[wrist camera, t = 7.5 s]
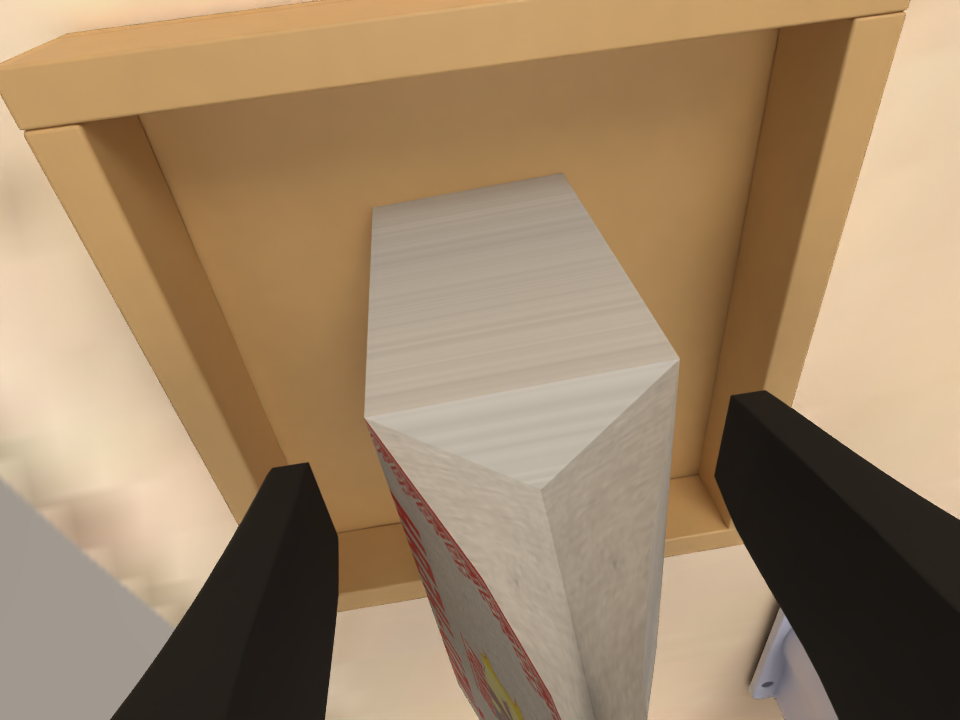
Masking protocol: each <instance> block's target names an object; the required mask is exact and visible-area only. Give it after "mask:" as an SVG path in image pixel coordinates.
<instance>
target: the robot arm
mask: <svg viewBox="0 0 960 720" xmlns="http://www.w3.org/2000/svg"><path fill="white" fill-rule="evenodd" d="M714 477H715V480H716V482H717V485H718V487H719V490H720V492H721V495H722V497H723V500H724V502H725V505H726V507H727V509H728V512H729V514H730V516H731V519H732V521H733V523H734V526H735V528H736V530H737V532H738V534H739V536H740V537H741V539H742V541H743V543H744V545H745V546H746V548H747V550H748V552H749V553H750V555H751V557H752V559H753V561H754V562H755V564H756V566H757V568H758V569H759V571H760V573H761V575H762V576H763V578H764V580H765V582H766V583H767V585H768V587H769V589H770V590H771V592H772V594H773V595H774V597H775V599H776V601H777V602H778V604H779V606H780V609H779V611H778V614H777V616H776V619H775V622H774V624H773V627H772V629H771V632H770V635H769V637H768V640H767V643H766V645H765V648H764V650H763V653H762V656H761V658H760V661H759V664H758V666H757V669H756V671H755V674H754V677H753V679H752V682H751V685H750V687H749V691H750V693H751V695H752V697H753V698H755V699H764V698H769V697H774V698H775V700H776V702H777V704H778V706H779V708H780V710H781V712H782V714H783V716H784V718H785V720H960V520H959V519H957V518H955V517H954V516H952V515H951V514H949V513H947V512H946V511H944V510H942V509H941V508H939V507H937V506H936V505H934V504H933V503H931V502H929V501H928V500H926V499H924V498H923V497H921V496H920V495H918V494H917V493H915V492H913V491H912V490H910V489H909V488H907V487H906V486H904V485H903V484H901V483H899V482H898V481H896V480H895V479H893V478H892V477H890V476H889V475H887V474H886V473H884V472H883V471H881V470H880V469H878V468H877V467H875V466H874V465H872V464H871V463H869V462H868V461H867V460H865V459H864V458H862V457H861V456H859V455H858V454H856V453H855V452H853V451H852V450H851V449H849V448H848V447H846V446H845V445H843V444H842V443H840V442H839V441H838V440H836V439H835V438H833V437H832V436H831V435H829V434H828V433H826V432H825V431H823V430H822V429H821V428H819V427H818V426H816V425H815V424H814V423H812V422H811V421H809V420H808V419H807V418H805V417H804V416H802V415H801V414H800V413H798V412H797V411H795V410H794V409H792V408H791V407H790V406H788V405H787V404H785V403H784V402H782V401H781V400H780V399H778V398H777V397H775V396H774V395H772V394H771V393H769V392H768V391H766V390H762V391H756V392H749V393H743V394H737V395H731V396H730V401H729V406H728V411H727V415H726V420H725V425H724V430H723V435H722V440H721V445H720V449H719V454H718V459H717V464H716V469H715V474H714ZM338 597H339V543H338V535H337V532H336V530H335V527H334V525H333V522H332V520H331V517H330V514H329V512H328V509H327V507H326V504H325V502H324V499H323V497H322V494H321V492H320V489H319V487H318V484H317V482H316V479H315V477H314V474H313V472H312V469H311V466H310V464H309V462H306V463H299V464H293V465H287V466H280V467H274V468H272V469H271V470H270V471H269V472H268V474H267V475H266V477H265V479H264V481H263V483H262V485H261V487H260V488H259V490H258V492H257V494H256V496H255V498H254V500H253V501H252V503H251V505H250V507H249V509H248V510H247V512H246V514H245V516H244V518H243V520H242V521H241V523H240V525H239V527H238V528H237V530H236V532H235V534H234V535H233V537H232V539H231V541H230V542H229V544H228V546H227V548H226V549H225V551H224V553H223V554H222V556H221V558H220V559H219V561H218V562H217V564H216V566H215V567H214V569H213V571H212V572H211V574H210V576H209V577H208V579H207V581H206V582H205V584H204V586H203V587H202V589H201V591H200V592H199V594H198V595H197V597H196V599H195V600H194V602H193V603H192V605H191V606H190V608H189V609H188V611H187V612H186V614H185V615H184V617H183V618H182V620H181V621H180V623H179V624H178V626H177V627H176V629H175V630H174V632H173V633H172V635H171V636H170V638H169V639H168V641H167V642H166V644H165V645H164V647H163V648H162V650H161V651H160V653H159V654H158V656H157V657H156V658H155V660H154V661H153V663H152V664H151V665H150V667H149V668H148V670H147V671H146V672H145V674H144V675H143V677H142V678H141V679H140V681H139V682H138V684H137V685H136V686H135V688H134V689H133V690H132V692H131V693H130V694H129V696H128V697H127V698H126V699H125V701H124V702H123V703H122V705H121V706H120V707H119V709H118V710H117V711H116V713H115V714H114V715H113V716H112V718H111V719H110V720H325V713H326V705H327V696H328V687H329V679H330V670H331V661H332V652H333V644H334V635H335V625H336V616H337V607H338Z"/></svg>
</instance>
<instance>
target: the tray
mask: <svg viewBox="0 0 960 720" xmlns="http://www.w3.org/2000/svg"><path fill="white" fill-rule="evenodd" d="M909 3H910V0H320V1H313V2H305V3H297V4H290V5H282V6H274V7H267V8H259V9H251V10H244V11H236V12H228V13H221V14H213V15H205V16H198V17H190V18H182V19H175V20H167V21H159V22H152V23H144V24H136V25H129V26H121V27H113V28H106V29H98V30H90V31H83V32H75V33H67V34H65V35H63V36H60V37H58V38H56V39H53V40H51V41H49V42H47V43H44V44H42V45H40V46H38V47H35V48H33V49H31V50H29V51H27V52H24V53H22V54H20V55H18V56H15V57H13V58H11V59H9V60H6V61H4V62H2V63H0V95H1V97H2V98H3V100H4V102H5V104H6V106H7V107H8V109H9V111H10V113H11V115H12V117H13V118H14V120H15V122H16V124H17V126H18V127H19V128H20V130H26V131H25V132H24V137H25V139H26V141H27V142H28V144H29V146H30V148H31V150H32V151H33V153H34V155H35V157H36V159H37V161H38V162H39V164H40V166H41V168H42V170H43V171H44V173H45V175H46V177H47V179H48V180H49V182H50V184H51V186H52V188H53V190H54V191H55V193H56V195H57V197H58V199H59V200H60V202H61V204H62V206H63V208H64V209H65V211H66V213H67V215H68V217H69V219H70V220H71V222H72V224H73V226H74V228H75V229H76V231H77V233H78V235H79V237H80V239H81V240H82V242H83V244H84V246H85V248H86V249H87V251H88V253H89V255H90V257H91V258H92V260H93V262H94V264H95V266H96V268H97V269H98V271H99V273H100V275H101V277H102V278H103V280H104V282H105V284H106V286H107V288H108V289H109V291H110V293H111V295H112V297H113V298H114V300H115V302H116V304H117V306H118V307H119V309H120V311H121V313H122V315H123V317H124V318H125V320H126V322H127V324H128V326H129V327H130V329H131V331H132V333H133V335H134V337H135V338H136V340H137V342H138V344H139V346H140V347H141V349H142V351H143V353H144V355H145V356H146V358H147V360H148V362H149V364H150V366H151V367H152V369H153V371H154V373H155V375H156V376H157V378H158V380H159V382H160V384H161V386H162V387H163V389H164V391H165V393H166V395H167V396H168V398H169V400H170V402H171V404H172V405H173V407H174V409H175V411H176V413H177V415H178V416H179V418H180V420H181V422H182V424H183V425H184V427H185V429H186V431H187V433H188V435H189V436H190V438H191V440H192V442H193V444H194V445H195V447H196V449H197V451H198V453H199V454H200V456H201V458H202V460H203V462H204V464H205V465H206V467H207V469H208V471H209V473H210V474H211V476H212V478H213V480H214V482H215V483H216V485H217V487H218V489H219V491H220V493H221V494H222V496H223V498H224V500H225V502H226V503H227V505H228V507H229V509H230V511H231V513H232V514H233V516H234V518H235V520H236V522H237V523H238V525H240V523H241V521H242V520H243V518H244V516H245V514H246V512H247V510H248V509H249V507H250V505H251V503H252V501H253V500H254V498H255V496H256V494H257V492H258V490H259V488H260V487H261V485H262V483H263V481H264V479H265V477H266V475H267V474H268V472H269V471H270V470H271V469H272V468H274V467H280V466H287V465H293V464H299V463H306V462H309V464H310V466H311V469H312V472H313V474H314V477H315V479H316V482H317V484H318V487H319V489H320V492H321V494H322V497H323V499H324V502H325V504H326V507H327V509H328V512H329V514H330V517H331V520H332V522H333V525H334V527H335V530H336V532H337V535H338V543H339V597H338V607H337V612H341V611H347V610H353V609H359V608H365V607H371V606H377V605H383V604H389V603H395V602H401V601H407V600H413V599H419V598H425V597H427V594H426V591H425V588H424V585H423V583H422V580H421V577H420V574H419V571H418V568H417V566H416V563H415V560H414V557H413V554H412V551H411V549H410V546H409V543H408V540H407V537H406V534H405V532H404V529H403V526H402V523H401V520H400V517H399V515H398V512H397V509H396V506H395V503H394V501H393V498H392V495H391V492H390V489H389V486H388V484H387V481H386V478H385V475H384V472H383V469H382V467H381V464H380V461H379V458H378V455H377V452H376V450H375V447H374V444H373V441H372V438H371V435H370V433H369V430H368V427H367V424H366V421H365V419H364V410H365V386H366V362H367V337H368V313H369V288H370V264H371V240H372V215H373V207H378V206H384V205H389V204H394V203H400V202H405V201H411V200H416V199H422V198H427V197H433V196H438V195H443V194H449V193H454V192H460V191H465V190H471V189H476V188H482V187H487V186H493V185H498V184H503V183H509V182H514V181H520V180H525V179H531V178H536V177H542V176H547V175H553V174H558V173H563V174H564V176H565V177H566V179H567V181H568V182H569V184H570V185H571V187H572V188H573V190H574V192H575V193H576V195H577V196H578V198H579V200H580V201H581V203H582V204H583V206H584V207H585V209H586V211H587V212H588V214H589V215H590V217H591V219H592V220H593V222H594V223H595V225H596V227H597V228H598V230H599V231H600V233H601V234H602V236H603V238H604V239H605V241H606V242H607V244H608V246H609V247H610V249H611V250H612V252H613V253H614V255H615V257H616V258H617V260H618V261H619V263H620V265H621V266H622V268H623V269H624V271H625V272H626V274H627V276H628V277H629V279H630V280H631V282H632V284H633V285H634V287H635V288H636V290H637V291H638V293H639V295H640V296H641V298H642V299H643V301H644V303H645V304H646V306H647V307H648V309H649V311H650V312H651V314H652V315H653V317H654V318H655V320H656V322H657V323H658V325H659V326H660V328H661V330H662V331H663V333H664V334H665V336H666V337H667V339H668V341H669V342H670V344H671V345H672V347H673V349H674V350H675V352H676V353H677V355H678V356H679V358H680V362H679V375H678V387H677V400H676V412H675V424H674V437H673V449H672V462H671V474H670V486H669V499H668V511H667V524H666V536H665V548H664V557H669V556H675V555H681V554H687V553H693V552H699V551H705V550H711V549H717V548H723V547H729V546H735V545H741V544H744V543H743V541H742V539H741V537H740V536H739V534H738V532H737V530H736V528H735V526H734V523H733V521H732V519H731V516H730V514H729V512H728V509H727V507H726V505H725V502H724V500H723V497H722V495H721V492H720V490H719V487H718V485H717V482H716V480H715V477H714V474H715V469H716V464H717V459H718V454H719V449H720V445H721V440H722V435H723V430H724V425H725V420H726V415H727V411H728V406H729V401H730V396H731V395H737V394H743V393H749V392H756V391H762V390H766V391H768V392H769V393H771V394H772V395H774V396H775V397H777V398H778V399H780V400H781V401H782V402H784V403H785V404H787V405H788V406H790V407H791V406H792V402H793V399H794V396H795V392H796V389H797V385H798V382H799V379H800V375H801V372H802V368H803V365H804V361H805V358H806V355H807V351H808V348H809V344H810V341H811V338H812V334H813V331H814V327H815V324H816V320H817V317H818V314H819V310H820V307H821V303H822V300H823V297H824V293H825V290H826V286H827V283H828V279H829V276H830V273H831V269H832V266H833V262H834V259H835V256H836V252H837V249H838V245H839V242H840V238H841V235H842V232H843V228H844V225H845V221H846V218H847V214H848V211H849V208H850V204H851V201H852V197H853V194H854V191H855V187H856V184H857V180H858V177H859V173H860V170H861V167H862V163H863V160H864V156H865V153H866V150H867V146H868V143H869V139H870V136H871V132H872V129H873V126H874V122H875V119H876V115H877V112H878V109H879V105H880V102H881V98H882V95H883V91H884V88H885V85H886V81H887V78H888V74H889V71H890V68H891V64H892V61H893V57H894V54H895V50H896V47H897V44H898V40H899V37H900V33H901V30H902V27H903V23H904V20H905V16H906V13H905V12H903V11H904V10H907V8H908V6H909Z"/></svg>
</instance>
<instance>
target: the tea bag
mask: <svg viewBox="0 0 960 720" xmlns="http://www.w3.org/2000/svg"><path fill="white" fill-rule="evenodd" d="M679 362H680V358H679V356H678V355H677V353H676V352H675V350H674V349H673V347H672V345H671V344H670V342H669V341H668V339H667V337H666V336H665V334H664V333H663V331H662V330H661V328H660V326H659V325H658V323H657V322H656V320H655V318H654V317H653V315H652V314H651V312H650V311H649V309H648V307H647V306H646V304H645V303H644V301H643V299H642V298H641V296H640V295H639V293H638V291H637V290H636V288H635V287H634V285H633V284H632V282H631V280H630V279H629V277H628V276H627V274H626V272H625V271H624V269H623V268H622V266H621V265H620V263H619V261H618V260H617V258H616V257H615V255H614V253H613V252H612V250H611V249H610V247H609V246H608V244H607V242H606V241H605V239H604V238H603V236H602V234H601V233H600V231H599V230H598V228H597V227H596V225H595V223H594V222H593V220H592V219H591V217H590V215H589V214H588V212H587V211H586V209H585V207H584V206H583V204H582V203H581V201H580V200H579V198H578V196H577V195H576V193H575V192H574V190H573V188H572V187H571V185H570V184H569V182H568V181H567V179H566V177H565V176H564V174H563V173H558V174H553V175H547V176H542V177H536V178H531V179H525V180H520V181H514V182H509V183H503V184H498V185H493V186H487V187H482V188H476V189H471V190H465V191H460V192H454V193H449V194H443V195H438V196H433V197H427V198H422V199H416V200H411V201H405V202H400V203H394V204H389V205H384V206H378V207H373V215H372V240H371V264H370V288H369V313H368V337H367V362H366V386H365V410H364V419H365V421H366V424H367V427H368V430H369V433H370V435H371V438H372V441H373V444H374V447H375V450H376V452H377V455H378V458H379V461H380V464H381V467H382V469H383V472H384V475H385V478H386V481H387V484H388V486H389V489H390V492H391V495H392V498H393V501H394V503H395V506H396V509H397V512H398V515H399V517H400V520H401V523H402V526H403V529H404V532H405V534H406V537H407V540H408V543H409V546H410V549H411V551H412V554H413V557H414V560H415V563H416V566H417V568H418V571H419V574H420V577H421V580H422V583H423V585H424V588H425V591H426V594H427V597H428V599H429V602H430V605H431V608H432V611H433V614H434V616H435V619H436V622H437V625H438V628H439V631H440V633H441V636H442V639H443V642H444V645H445V648H446V650H447V653H448V656H449V659H450V662H451V664H452V667H453V670H454V673H455V676H456V679H457V681H458V684H459V686H460V688H461V689H462V691H463V693H464V694H465V696H466V698H467V699H468V701H469V703H470V704H471V706H472V708H473V709H474V711H475V713H476V714H477V716H478V718H479V719H480V720H647V717H648V709H649V701H650V693H651V686H652V678H653V670H654V662H655V655H656V647H657V635H658V623H659V610H660V598H661V586H662V573H663V561H664V548H665V536H666V524H667V511H668V499H669V486H670V474H671V462H672V449H673V437H674V424H675V412H676V400H677V387H678V375H679Z"/></svg>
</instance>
